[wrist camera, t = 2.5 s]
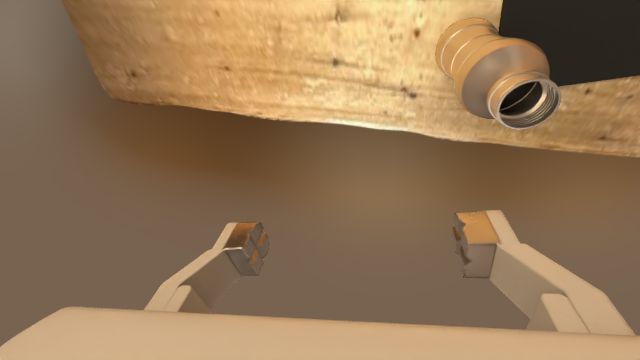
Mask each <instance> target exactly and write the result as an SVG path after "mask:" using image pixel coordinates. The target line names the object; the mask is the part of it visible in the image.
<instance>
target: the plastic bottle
mask: <svg viewBox="0 0 640 360" xmlns="http://www.w3.org/2000/svg"><path fill="white" fill-rule="evenodd" d="M435 56H436V63H437V65H438V67H439V69H440V70H441V71H442V72H443V73H444V74H446V75H447V76H449V77H451V78H453V80H454V83H455V90H456V95H457V97H458V100H459V102H460V104H461V105H462V106H463V108H464V109H465V110H467V111H468V112H470V113H472V114H474V115H476V116H479V117H482V118H487V119H497V120H498V121H499V122H500V123H501V124H502V125H504V126H506V127H508V128H510V129H515V130H522V129H529V128H532V127H535V126H538V125H540V124H542V123H543V122H545V121H546V120H548V119H549V118H550V117H551V116H552V115H553V114H554V113H555V112H556V110H557V109H558V107H559V105H560V102H561V92H560V89H559V88H558V86H557V85H556V84H555V83H554V82H553V81H551V80H550V79H549V74H550V72H549V64H548V61H547V58H546V55H545V53H544V52H543V51H542V49H541V48H540V47H539V46H537V45H536V44H534V43H532V42H530V41H527V40H523V39H518V38H509V37H502V36H500V35H499V33H498V31H497V30H496V29H495V27H494V26H493V25H492V24H491V23H490V22H488V21H486V20H484V19H479V18H470V19H465V20H461V21H459V22H456V23H455V24H453V25H451V26H450V27H449V28H448V29H447V30H445V32H444V33H443V34H442V35H441V37H440V39H439V41H438V43H437V47H436V53H435Z"/></svg>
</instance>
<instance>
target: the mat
mask: <svg viewBox="0 0 640 360" xmlns="http://www.w3.org/2000/svg"><path fill="white" fill-rule="evenodd" d="M499 35H500V36H502V37H509V38H518V39H523V40H527V41H530V42H532V43H534V44H536V45H537V46H539V47H540V48H541V49H542V51H543V52H544V53H545V55H546V58H547V61H548V64H549V72H550V74H549V79H550V80H551V81H553V82H554V83H555V84H556V85H557V86H564V85H572V84H579V83H586V82H593V81H601V80H608V79H615V78H622V77H630V76H637V75H640V0H503V4H502V11H501V18H500V26H499Z"/></svg>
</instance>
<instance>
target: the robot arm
mask: <svg viewBox="0 0 640 360" xmlns="http://www.w3.org/2000/svg"><path fill="white" fill-rule="evenodd" d="M453 221H454V224H455V227H454V228H453V231H452V237H453V245H454V249H455V252H456V253H457V254H458V255H459V265H460V269H461V272H462V275H463V277H467V278H468V277H469V278H489V280H490V281H491V282H493V284H495V286H497V287H498V288H499V289H500V290H501V291H502V292H503V293H504V294H505V295H506V296H507V297H508V298H509V299H510V300H511V301H512V302H513V303H514V304H515V305H516V306H517V307H518V308H519V309H520V310H522V311H523V312H524V313H525V314H526V315H527V316H528V317H529V318H530V319H531V320H530V322H529V325H528V327H527V329H526V330H516V329H497V328H477V327H458V326H439V325H418V324H399V323H379V322H360V321H340V320H321V319H302V318H282V317H263V316H244V315H224V314H214V313H213V312H212V311H211V308H212V307H214V305H215V304H216V303H217V302H218V301H219V300H220V299H221V298H222V297H223V296H224V295H225V294H226V293H227V292H228V291H229V290H230V289H231V287H233V286H234V285H235V283H236V282H237V281H238V280H239V279H240V278H241V277H242V276H258V275H259V273H260V271H261V268H262V266H263V260H262V259H263V258H264V257H265V256H266V255H267V253H268V250H269V239H268V236H267V235H266V234H265V233H264V232H262V230H263V226H262V224H261V223H260V222H239V223H229V224H227V225H226V227H225V229H224V230H223V232H222V234H221V235H220V237H219V239H218V240H217V242H216V243H215V245H214V247H213V249H212V250H208V251H207V252H205V253H204V254H202V255H201V256H200V257H198V258H197V259H195V260H194V261H193V262H191V263H190V264H189V265H187V266H186V267H185V268H183V269H182V270H180V271H179V272H178V273H177V274H175V275H174V276H172V277H171V278H170V279H168V280H167V281H165V282H164V283H163V284H162V285H161V286H160V287H159V289H158V290H157V292H156V293H155V295H154V296H153V297H152V299H151V300H150V302H149V303H148V305H147V306H146V307H145V309H144V310H128V309H109V308H90V307H66V308H63V309H61V310H59V311H57V312H55V313H53V314H52V315H50V316H48V317H46V318H44V319H43V320H41V321H39V322H38V323H36V324H34V325H33V326H31V327H29V328H28V329H26V330H24V331H23V332H21V333H20V334H18V335H16V336H15V337H13V338H12V339H10V340H9V341H8V342H6V343H5V344H4V345H2V346H1V347H0V360H640V336H636V335H635V334H634V332H633V331H632V330H631V328H630V327H629V326H628V324H627V323H626V321H625V320H624V319H623V318H622V316H621V315H620V313H619V312H618V311H617V309H616V308H615V307H614V305H613V304H612V303H611V301H610V300H609V298H608V297H607V296H606V295H605V293H603V292H602V291H600V290H599V289H597V288H595V287H594V286H592V285H590V284H589V283H587V282H586V281H584V280H582V279H581V278H579V277H578V276H576V275H574V274H573V273H571V272H570V271H568V270H566V269H565V268H563V267H562V266H560V265H558V264H557V263H555V262H554V261H552V260H550V259H549V258H547V257H545V256H544V255H542V254H541V253H539V252H537V251H536V250H534V249H533V248H531V247H529V246H528V245H526V244H520V242H519V241H518V239H517V237H516V235H515V234H514V232H513V230H512V228H511V227H510V225H509V223H508V221H507V220H506V218H505V216H504V214H503V213H502V211H500V210H490V211H474V212H456V213H454V219H453Z"/></svg>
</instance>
